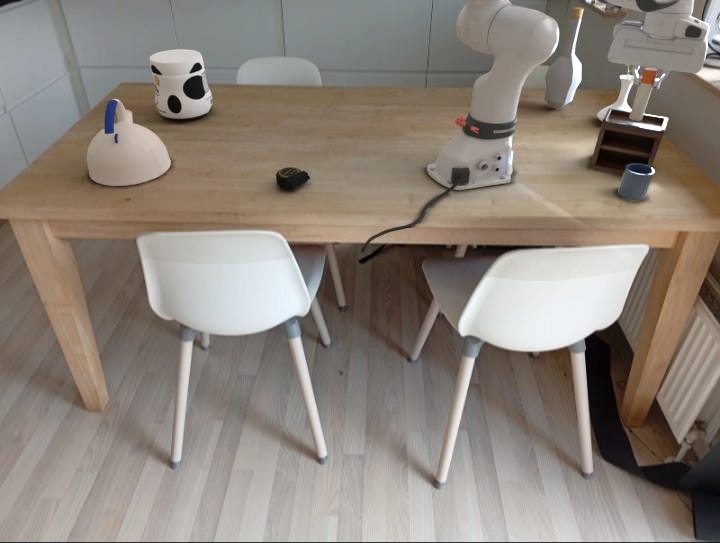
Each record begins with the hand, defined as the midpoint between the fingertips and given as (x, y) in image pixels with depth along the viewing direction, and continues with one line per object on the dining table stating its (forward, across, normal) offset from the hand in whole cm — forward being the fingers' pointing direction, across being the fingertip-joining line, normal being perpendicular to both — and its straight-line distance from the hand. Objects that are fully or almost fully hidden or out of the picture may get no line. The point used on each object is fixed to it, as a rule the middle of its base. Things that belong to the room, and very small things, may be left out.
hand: (645, 86), depth 128 cm
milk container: (+21, -126, -28) cm, 131 cm away
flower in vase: (+21, -6, +33) cm, 40 cm away
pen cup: (+21, +5, -15) cm, 26 cm away
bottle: (+22, -25, +35) cm, 48 cm away
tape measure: (+21, -69, -51) cm, 88 cm away
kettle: (+21, -111, -64) cm, 130 cm away
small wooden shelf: (+21, 0, 0) cm, 21 cm away
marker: (+8, 0, 0) cm, 8 cm away
